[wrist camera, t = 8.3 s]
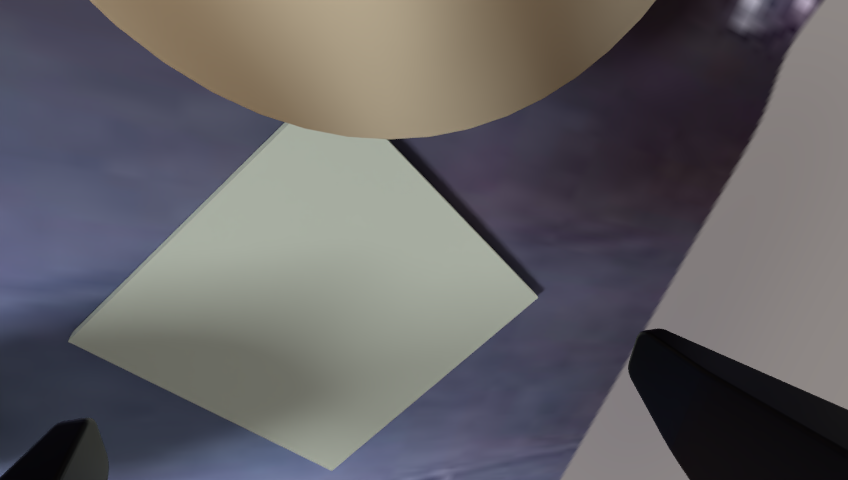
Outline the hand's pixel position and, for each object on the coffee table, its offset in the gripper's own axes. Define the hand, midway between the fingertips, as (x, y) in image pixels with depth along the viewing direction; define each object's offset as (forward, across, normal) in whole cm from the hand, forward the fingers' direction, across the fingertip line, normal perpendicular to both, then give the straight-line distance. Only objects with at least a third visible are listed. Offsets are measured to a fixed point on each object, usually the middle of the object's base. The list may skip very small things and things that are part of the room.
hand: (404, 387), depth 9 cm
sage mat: (+13, 0, +7) cm, 15 cm away
